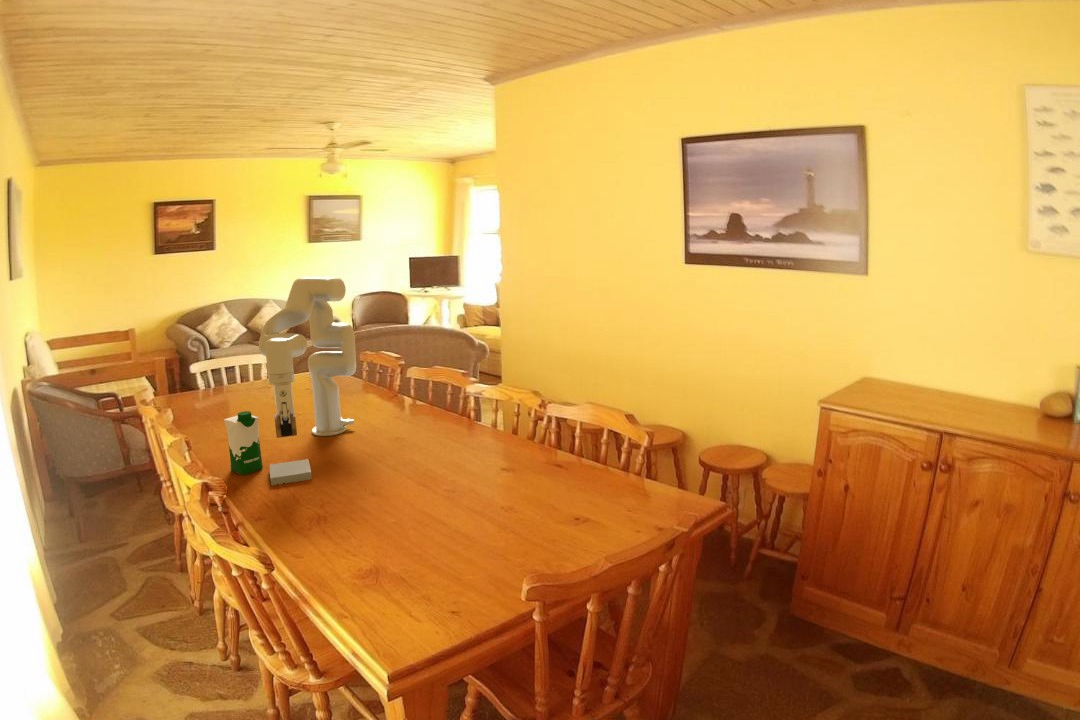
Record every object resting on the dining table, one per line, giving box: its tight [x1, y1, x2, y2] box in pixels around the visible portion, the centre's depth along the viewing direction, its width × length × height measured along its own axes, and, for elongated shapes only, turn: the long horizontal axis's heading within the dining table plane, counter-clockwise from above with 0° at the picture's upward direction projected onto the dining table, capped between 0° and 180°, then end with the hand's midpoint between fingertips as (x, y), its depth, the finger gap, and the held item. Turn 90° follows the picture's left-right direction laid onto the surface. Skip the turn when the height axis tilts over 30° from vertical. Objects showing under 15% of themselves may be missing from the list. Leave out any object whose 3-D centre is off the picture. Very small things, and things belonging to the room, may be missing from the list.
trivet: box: [269, 458, 313, 486], centre depth 205 cm, size 12×12×2 cm
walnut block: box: [273, 412, 298, 439], centre depth 201 cm, size 6×6×6 cm
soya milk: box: [223, 410, 264, 476], centre depth 208 cm, size 9×9×20 cm
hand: (286, 431), depth 202 cm, fingers closed on walnut block, 6 cm apart
